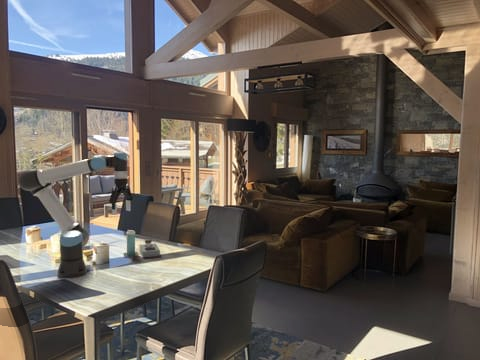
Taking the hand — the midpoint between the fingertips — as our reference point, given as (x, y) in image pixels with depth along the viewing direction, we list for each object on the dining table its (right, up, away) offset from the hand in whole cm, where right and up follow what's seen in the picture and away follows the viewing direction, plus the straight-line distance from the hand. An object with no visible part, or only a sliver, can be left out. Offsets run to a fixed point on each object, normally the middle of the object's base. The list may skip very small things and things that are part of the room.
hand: (121, 212), depth 228 cm
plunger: (+9, -28, +29) cm, 42 cm away
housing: (+11, -29, +25) cm, 40 cm away
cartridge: (0, -29, +20) cm, 36 cm away
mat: (0, -30, +20) cm, 36 cm away
